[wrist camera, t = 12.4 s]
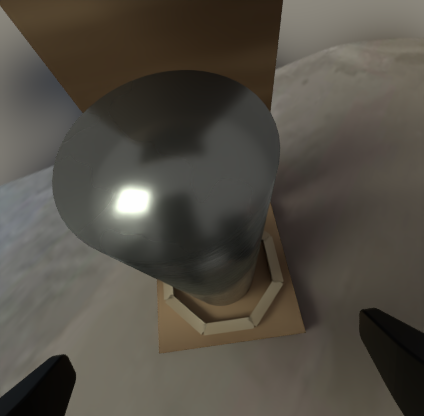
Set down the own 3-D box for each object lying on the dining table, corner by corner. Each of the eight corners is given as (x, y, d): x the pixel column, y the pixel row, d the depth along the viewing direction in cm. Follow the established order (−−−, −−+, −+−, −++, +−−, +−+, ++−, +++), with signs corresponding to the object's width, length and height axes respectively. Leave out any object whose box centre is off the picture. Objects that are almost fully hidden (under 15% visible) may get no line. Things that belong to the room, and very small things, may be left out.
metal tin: (266, 286, 15) (332, 189, 4) (202, 318, 15) (71, 310, 4) (234, 227, 17) (218, 45, 6) (177, 254, 17) (41, 117, 5)
